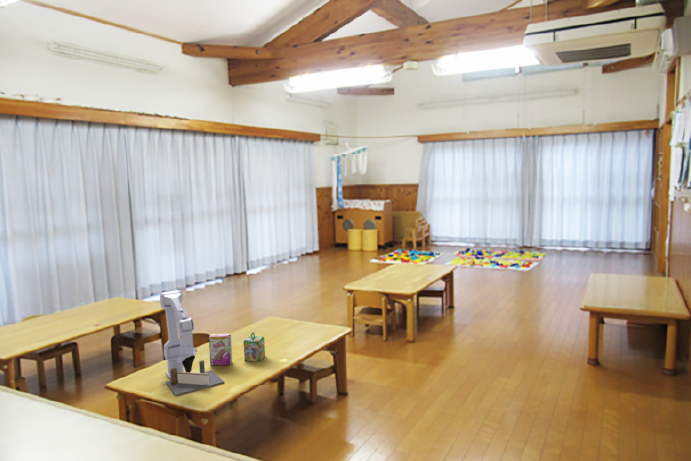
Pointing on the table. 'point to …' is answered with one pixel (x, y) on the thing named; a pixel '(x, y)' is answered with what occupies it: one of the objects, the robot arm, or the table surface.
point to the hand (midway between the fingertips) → (188, 371)
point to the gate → (193, 378)
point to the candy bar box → (220, 349)
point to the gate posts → (174, 372)
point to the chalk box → (254, 348)
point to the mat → (187, 388)
